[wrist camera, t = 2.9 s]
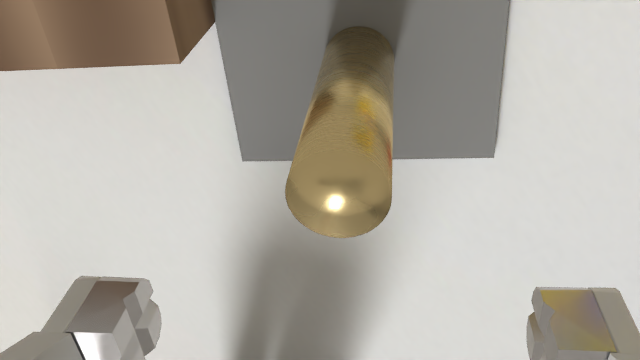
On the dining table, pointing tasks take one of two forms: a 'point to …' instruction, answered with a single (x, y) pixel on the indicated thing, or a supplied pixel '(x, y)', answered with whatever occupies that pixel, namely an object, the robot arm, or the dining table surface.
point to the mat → (409, 70)
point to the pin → (346, 139)
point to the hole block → (99, 32)
